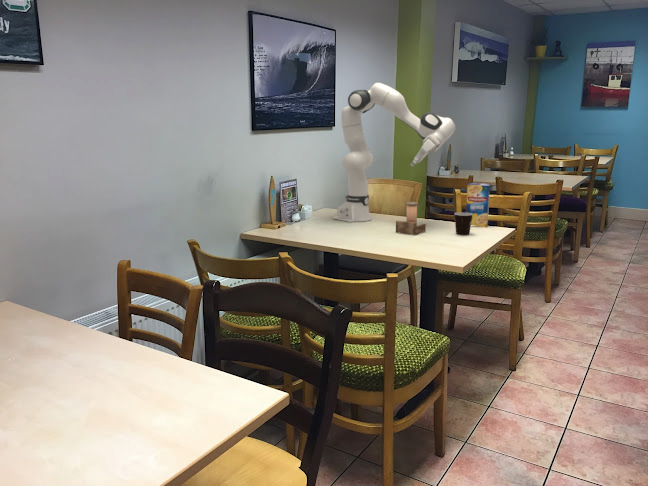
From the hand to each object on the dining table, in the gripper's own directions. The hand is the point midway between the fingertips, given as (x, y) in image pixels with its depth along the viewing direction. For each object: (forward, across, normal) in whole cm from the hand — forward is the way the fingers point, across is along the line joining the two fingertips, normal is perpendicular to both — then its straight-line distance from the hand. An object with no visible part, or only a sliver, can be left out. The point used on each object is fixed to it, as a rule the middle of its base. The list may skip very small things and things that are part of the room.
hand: (413, 162), depth 278 cm
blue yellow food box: (-3, -14, +47) cm, 49 cm away
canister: (+27, -2, +24) cm, 36 cm away
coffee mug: (+12, +6, +42) cm, 44 cm away
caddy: (+27, -2, +24) cm, 36 cm away
